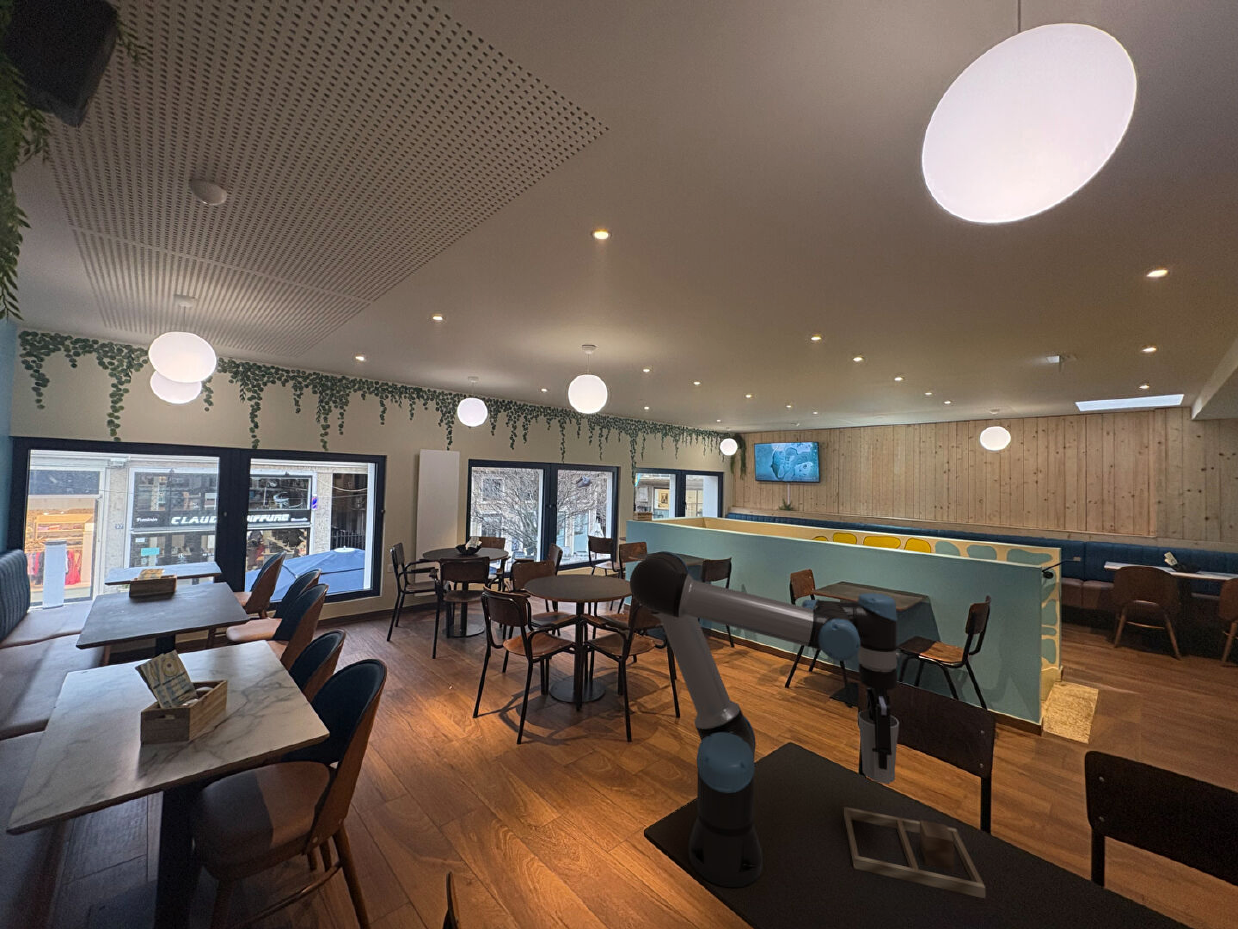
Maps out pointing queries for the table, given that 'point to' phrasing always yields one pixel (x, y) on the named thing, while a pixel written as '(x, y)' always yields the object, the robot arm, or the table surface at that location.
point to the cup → (869, 742)
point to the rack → (911, 855)
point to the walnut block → (936, 845)
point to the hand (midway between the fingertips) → (878, 771)
